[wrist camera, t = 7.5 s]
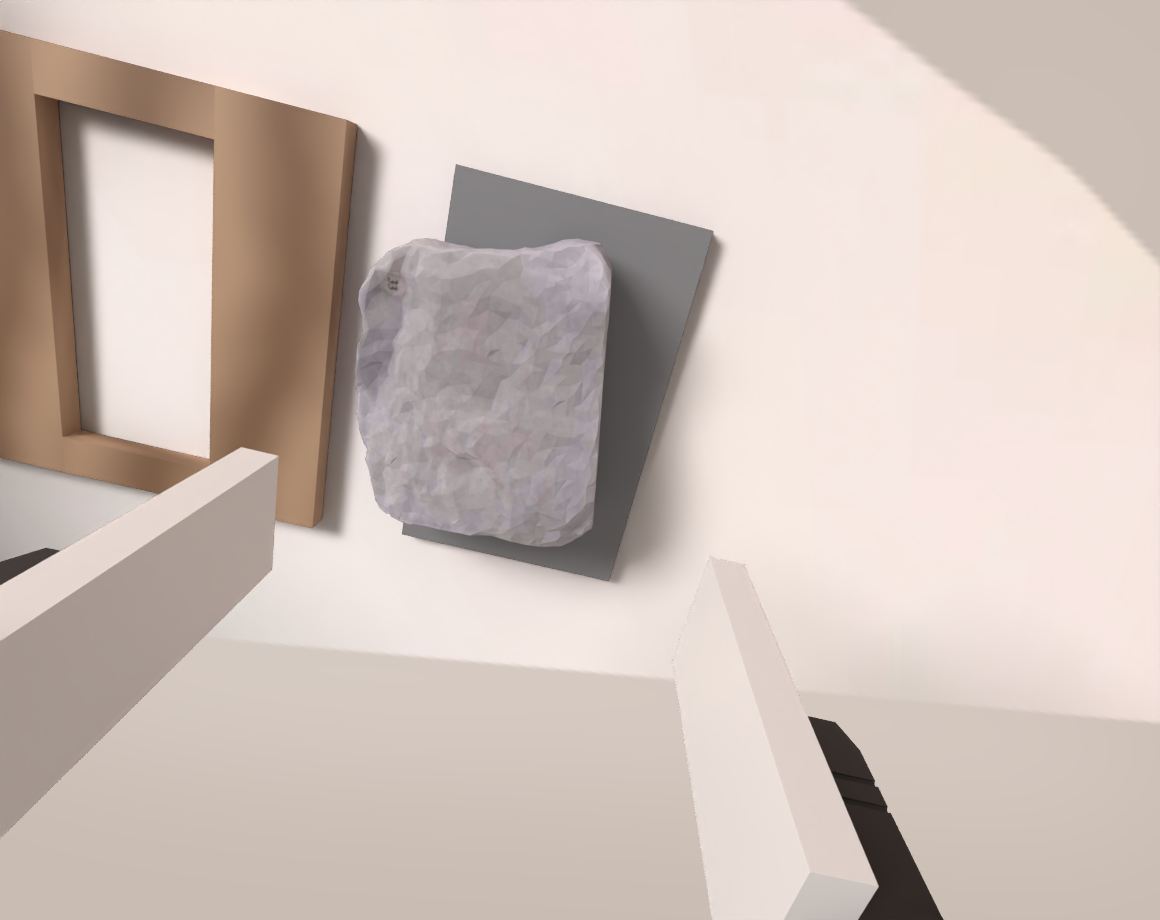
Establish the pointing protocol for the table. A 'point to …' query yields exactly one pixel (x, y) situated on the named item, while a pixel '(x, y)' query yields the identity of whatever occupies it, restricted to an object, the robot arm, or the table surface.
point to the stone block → (485, 386)
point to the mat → (633, 348)
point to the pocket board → (239, 272)
